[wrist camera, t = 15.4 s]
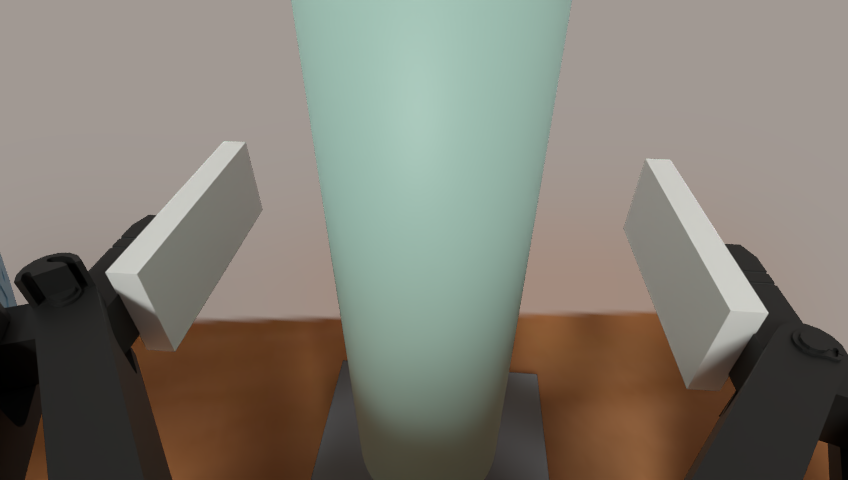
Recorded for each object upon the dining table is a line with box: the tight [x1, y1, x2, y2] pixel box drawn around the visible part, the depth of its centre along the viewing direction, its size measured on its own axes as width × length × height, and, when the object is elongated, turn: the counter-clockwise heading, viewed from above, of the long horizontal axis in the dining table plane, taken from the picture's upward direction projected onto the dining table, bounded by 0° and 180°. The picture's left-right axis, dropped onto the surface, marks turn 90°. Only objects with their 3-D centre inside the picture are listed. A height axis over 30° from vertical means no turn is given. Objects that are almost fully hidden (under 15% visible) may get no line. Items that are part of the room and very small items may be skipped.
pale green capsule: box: [291, 0, 572, 480], centre depth 14 cm, size 6×6×18 cm
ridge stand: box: [311, 360, 549, 480], centre depth 22 cm, size 16×12×8 cm
